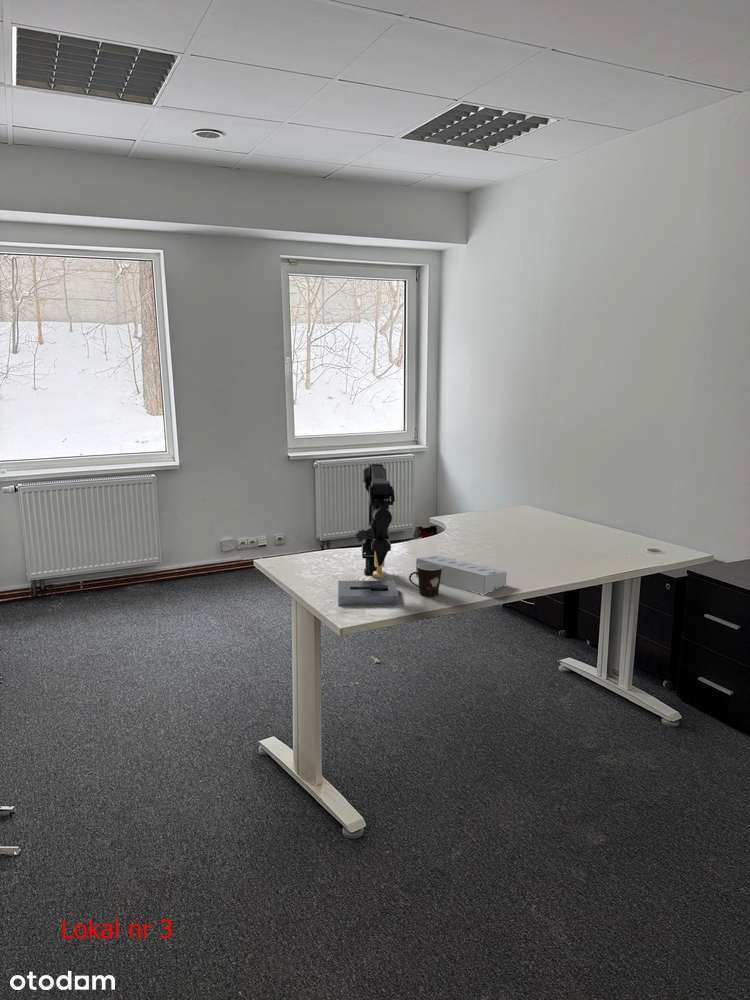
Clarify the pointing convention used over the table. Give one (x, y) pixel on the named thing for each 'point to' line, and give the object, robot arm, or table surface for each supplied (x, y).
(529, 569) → the table surface
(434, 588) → the coffee mug
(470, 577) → the white power strip
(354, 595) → the keyhole plate
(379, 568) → the peg
